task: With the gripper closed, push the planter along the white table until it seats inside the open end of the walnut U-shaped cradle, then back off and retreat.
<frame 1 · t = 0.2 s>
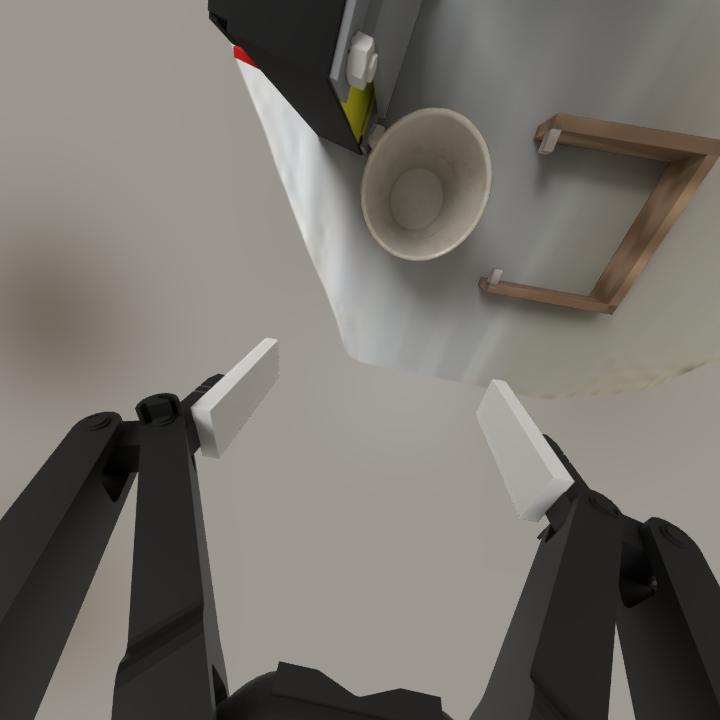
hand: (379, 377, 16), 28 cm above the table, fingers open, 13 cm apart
walnut cradle: (564, 226, 34), on the table
planter: (415, 201, 34), on the table
electrical component: (366, 51, 28), on the table
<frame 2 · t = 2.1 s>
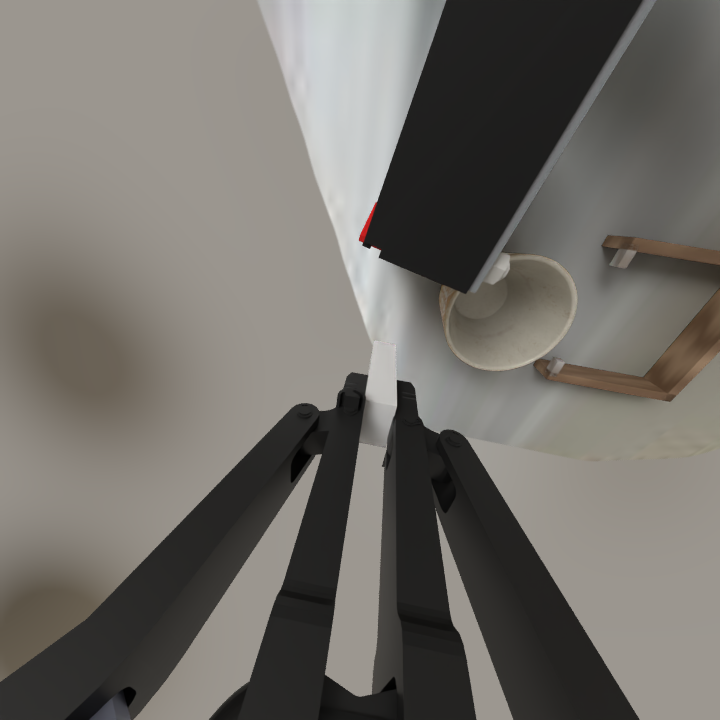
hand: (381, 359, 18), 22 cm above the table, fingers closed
walnut cradle: (624, 318, 35), on the table
planter: (478, 293, 35), on the table
electrical component: (442, 169, 29), on the table
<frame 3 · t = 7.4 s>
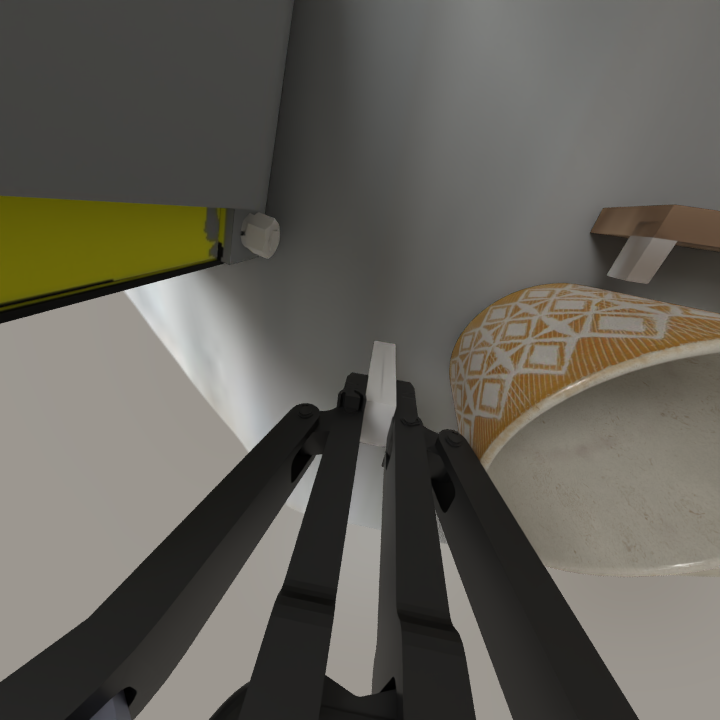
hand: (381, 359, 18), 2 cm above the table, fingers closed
walnut cradle: (639, 375, 18), on the table
planter: (525, 356, 18), on the table, touching hand
electrical component: (219, 59, 13), on the table
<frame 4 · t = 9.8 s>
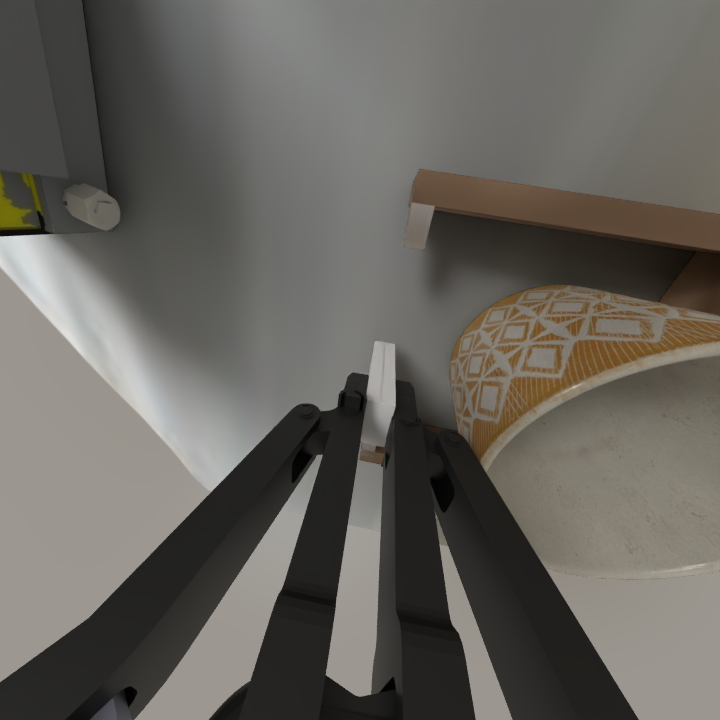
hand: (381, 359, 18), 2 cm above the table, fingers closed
walnut cradle: (492, 352, 18), on the table
planter: (525, 358, 18), on the table, touching hand, walnut cradle
electrical component: (30, 32, 13), on the table
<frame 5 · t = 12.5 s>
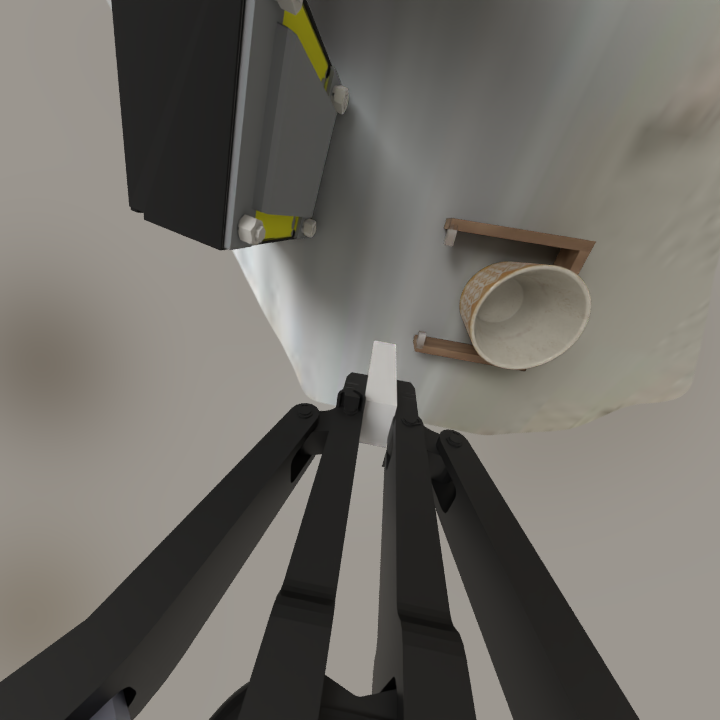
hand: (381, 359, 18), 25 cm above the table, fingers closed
walnut cradle: (480, 295, 38), on the table
planter: (495, 298, 39), on the table
electrical component: (296, 160, 33), on the table
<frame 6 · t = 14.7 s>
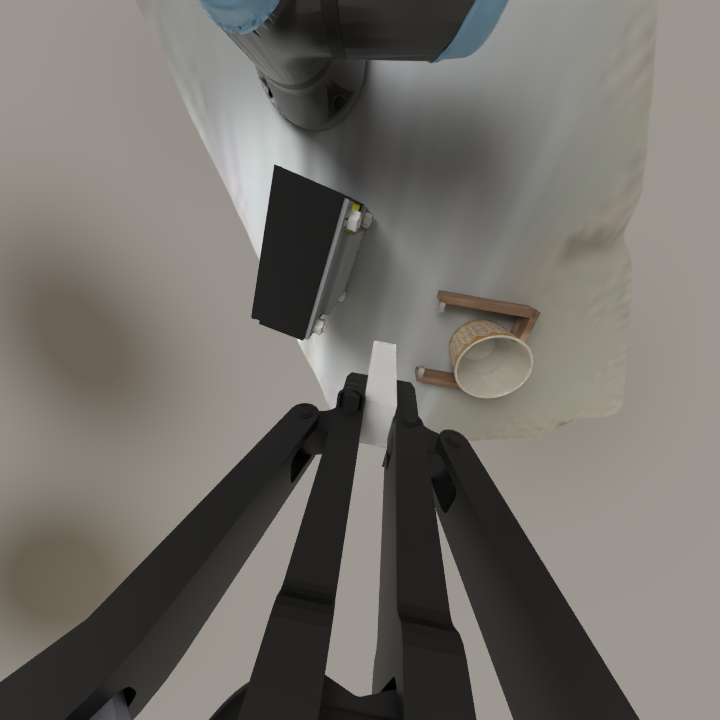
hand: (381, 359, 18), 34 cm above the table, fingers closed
walnut cradle: (464, 341, 52), on the table
planter: (475, 343, 53), on the table
electrical component: (332, 250, 47), on the table
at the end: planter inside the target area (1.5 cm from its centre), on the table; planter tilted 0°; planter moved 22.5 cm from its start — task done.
